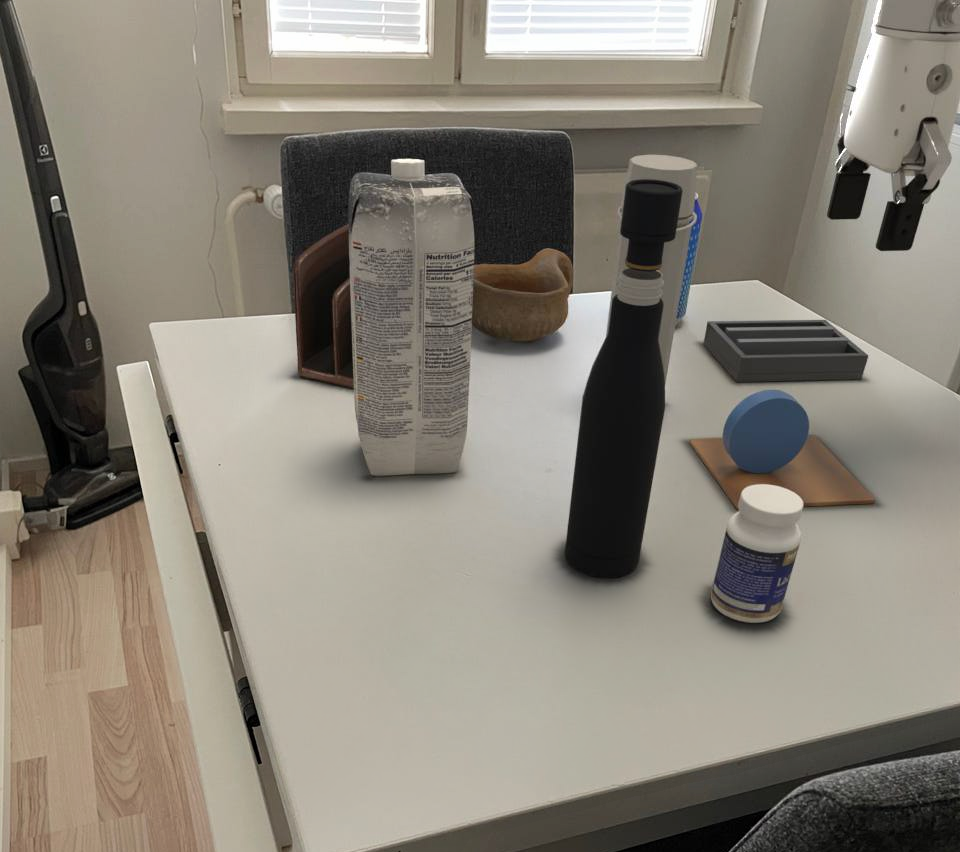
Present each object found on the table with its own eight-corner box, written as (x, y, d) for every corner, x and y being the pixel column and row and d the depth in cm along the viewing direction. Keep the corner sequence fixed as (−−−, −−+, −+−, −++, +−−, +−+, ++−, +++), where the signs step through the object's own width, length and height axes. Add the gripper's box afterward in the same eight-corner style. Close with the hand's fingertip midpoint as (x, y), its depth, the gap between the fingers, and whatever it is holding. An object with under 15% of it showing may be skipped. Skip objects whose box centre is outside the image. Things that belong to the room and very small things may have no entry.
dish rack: (819, 342, 129) (826, 315, 127) (861, 379, 120) (869, 351, 118) (703, 344, 127) (708, 317, 125) (736, 382, 117) (742, 353, 115)
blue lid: (810, 438, 99) (787, 374, 94) (819, 447, 97) (796, 382, 93) (737, 477, 100) (711, 416, 96) (744, 487, 99) (718, 425, 94)
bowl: (489, 287, 136) (512, 217, 129) (578, 334, 134) (606, 265, 127) (430, 326, 123) (452, 250, 116) (527, 379, 121) (556, 304, 114)
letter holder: (297, 377, 113) (287, 250, 104) (375, 322, 127) (373, 207, 119) (375, 394, 110) (372, 265, 101) (446, 336, 125) (449, 219, 116)
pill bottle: (782, 630, 78) (814, 521, 72) (709, 620, 79) (734, 511, 73) (778, 590, 83) (807, 484, 77) (709, 581, 83) (732, 475, 77)
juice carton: (469, 478, 96) (482, 178, 79) (360, 483, 94) (350, 177, 77) (456, 437, 102) (465, 153, 86) (354, 440, 101) (343, 151, 84)
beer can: (640, 304, 138) (657, 180, 128) (694, 318, 134) (717, 193, 124) (609, 320, 132) (626, 192, 122) (666, 335, 128) (687, 205, 119)
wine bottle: (586, 584, 82) (637, 200, 64) (551, 545, 87) (590, 176, 68) (652, 570, 84) (720, 194, 66) (615, 532, 89) (669, 172, 70)
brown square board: (813, 438, 106) (814, 434, 106) (874, 503, 95) (875, 499, 95) (688, 442, 104) (689, 438, 104) (736, 509, 93) (737, 505, 93)
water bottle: (598, 386, 114) (627, 150, 99) (666, 394, 113) (706, 157, 98) (589, 419, 107) (618, 170, 92) (661, 428, 106) (704, 178, 91)
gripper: (1028, 29, 74) (954, 262, 85) (912, 3, 88) (860, 207, 98) (937, 27, 73) (873, 264, 84) (833, 1, 86) (789, 208, 97)
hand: (866, 233), depth 91 cm, fingers open, 9 cm apart
